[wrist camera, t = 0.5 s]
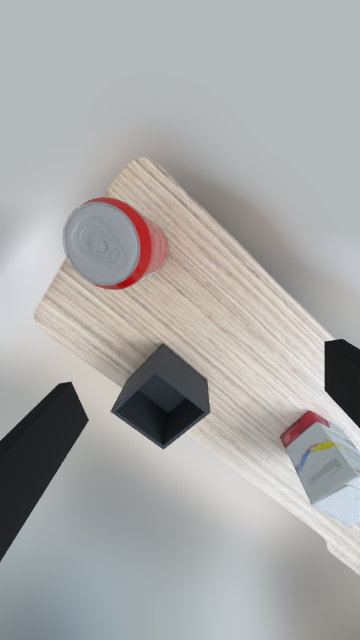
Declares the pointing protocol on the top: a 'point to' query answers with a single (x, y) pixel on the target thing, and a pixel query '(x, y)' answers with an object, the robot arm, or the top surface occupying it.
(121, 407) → the open top storage bin
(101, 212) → the soda can
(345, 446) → the ink box
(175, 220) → the top surface
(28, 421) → the robot arm
